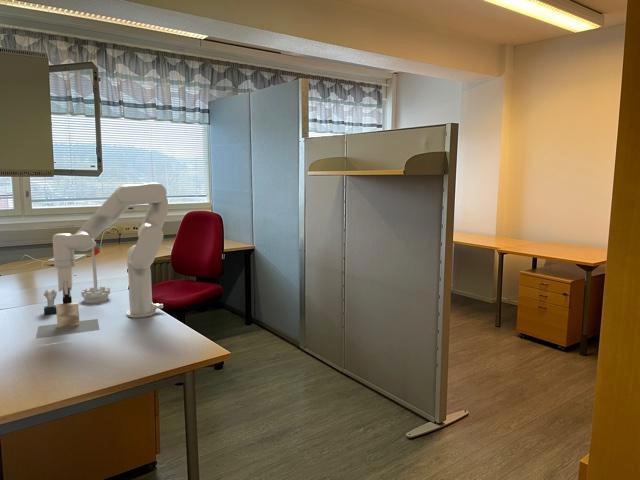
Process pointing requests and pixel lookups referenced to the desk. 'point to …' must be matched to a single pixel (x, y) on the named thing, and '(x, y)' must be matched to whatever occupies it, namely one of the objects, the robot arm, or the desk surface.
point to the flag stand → (95, 285)
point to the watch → (50, 302)
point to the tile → (67, 314)
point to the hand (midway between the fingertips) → (67, 305)
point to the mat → (67, 328)
